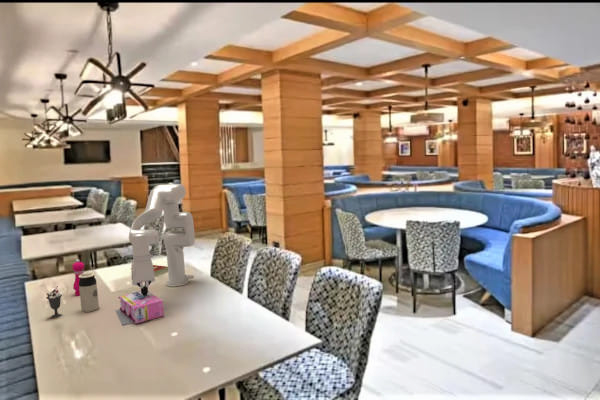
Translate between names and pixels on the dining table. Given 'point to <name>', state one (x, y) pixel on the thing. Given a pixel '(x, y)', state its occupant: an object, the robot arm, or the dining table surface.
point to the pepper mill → (77, 275)
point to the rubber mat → (123, 318)
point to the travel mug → (88, 292)
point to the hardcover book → (159, 270)
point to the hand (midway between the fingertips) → (144, 294)
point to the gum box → (141, 306)
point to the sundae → (54, 302)
